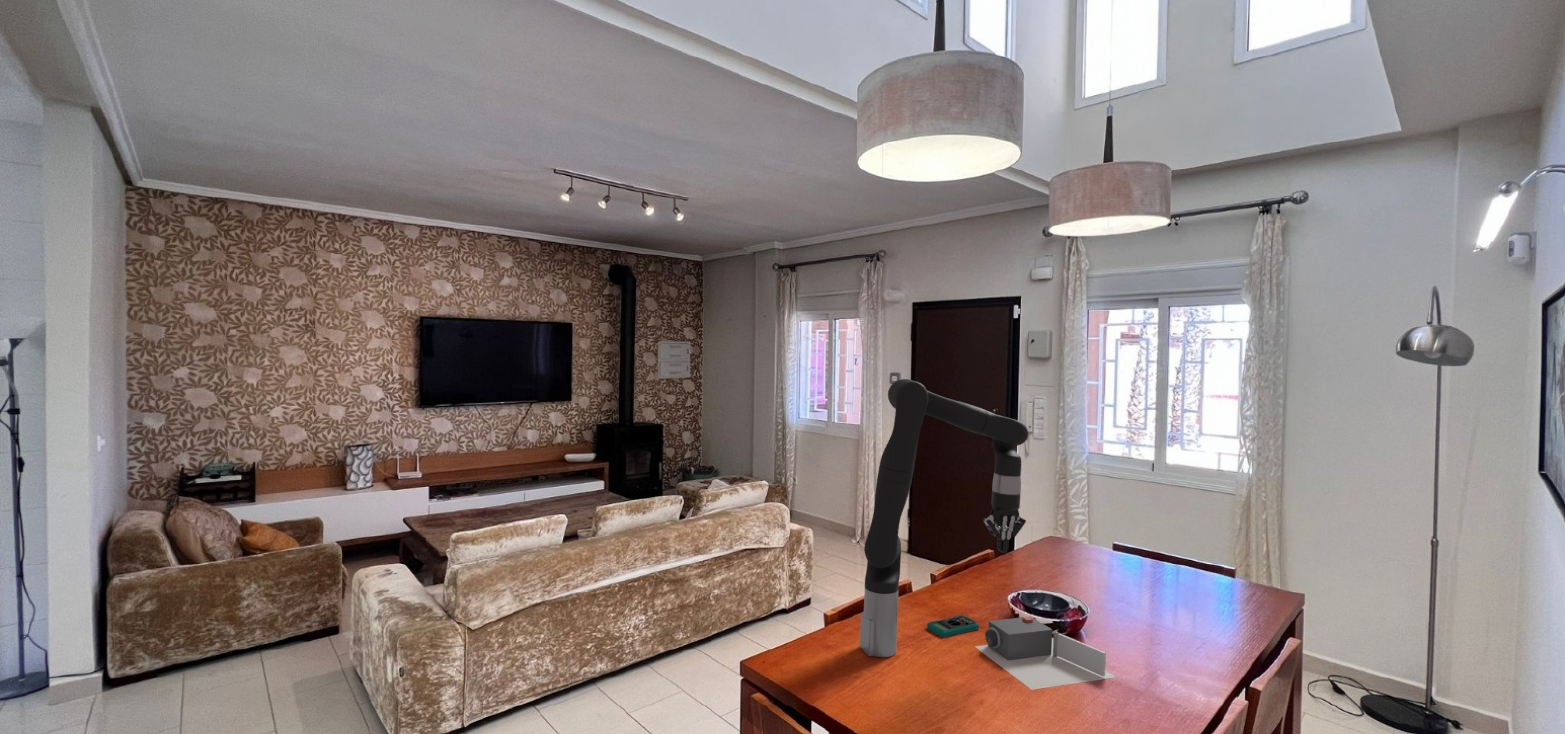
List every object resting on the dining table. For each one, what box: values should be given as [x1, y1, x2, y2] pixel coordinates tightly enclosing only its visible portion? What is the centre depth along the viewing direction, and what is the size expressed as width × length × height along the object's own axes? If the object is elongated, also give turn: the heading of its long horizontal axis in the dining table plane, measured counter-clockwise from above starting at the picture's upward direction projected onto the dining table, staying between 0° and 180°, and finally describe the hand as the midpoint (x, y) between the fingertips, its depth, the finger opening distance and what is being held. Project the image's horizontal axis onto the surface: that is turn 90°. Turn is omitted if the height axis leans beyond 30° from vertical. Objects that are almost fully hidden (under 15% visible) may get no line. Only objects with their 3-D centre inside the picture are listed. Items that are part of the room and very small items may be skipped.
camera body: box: [984, 616, 1053, 660], centre depth 177 cm, size 16×9×8 cm, turn 107°
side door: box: [1052, 630, 1107, 676], centre depth 169 cm, size 14×2×6 cm, turn 33°
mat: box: [974, 637, 1116, 691], centre depth 172 cm, size 26×24×1 cm
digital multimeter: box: [926, 614, 980, 639], centre depth 191 cm, size 7×15×3 cm, turn 118°
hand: (1002, 551), depth 179 cm, fingers closed
